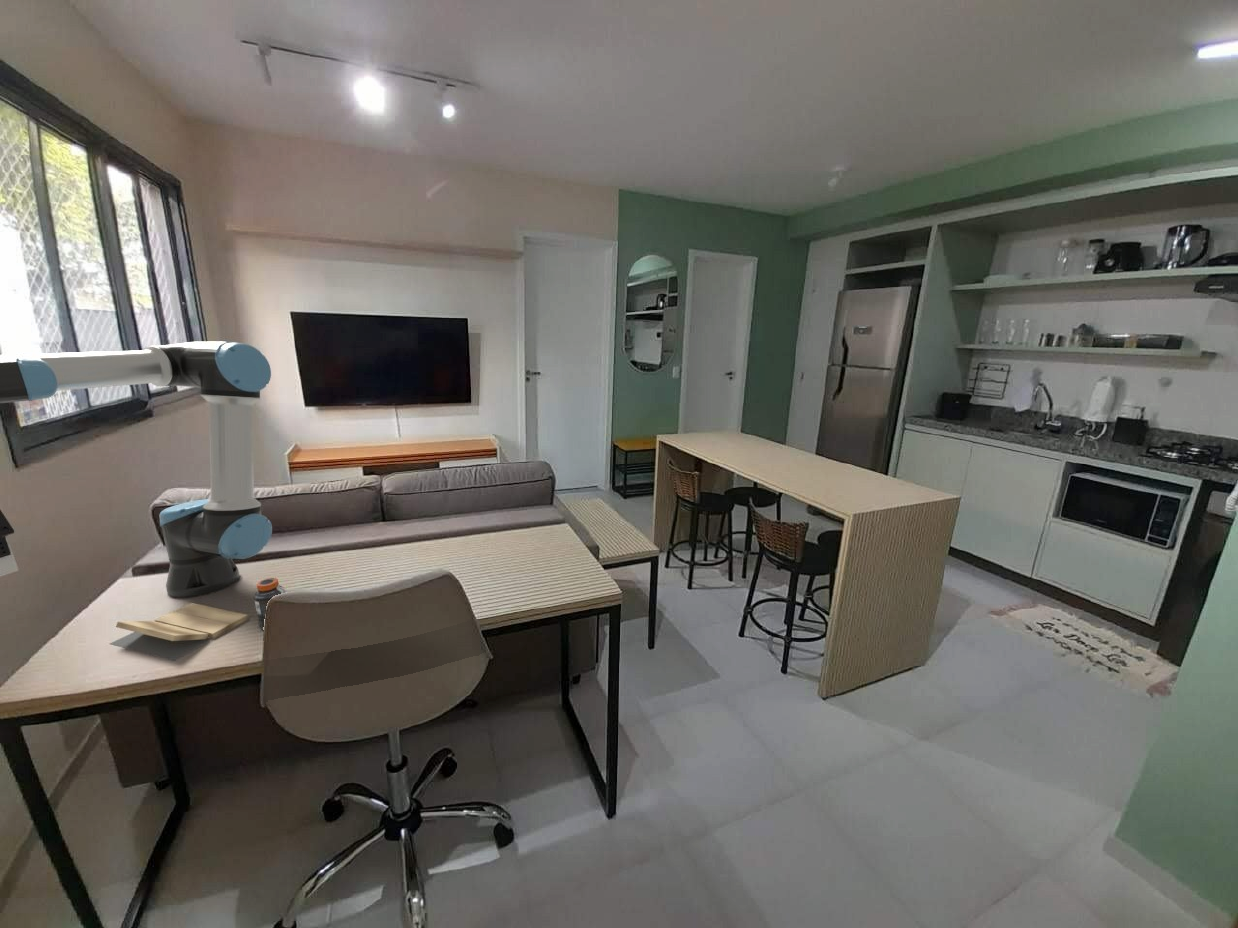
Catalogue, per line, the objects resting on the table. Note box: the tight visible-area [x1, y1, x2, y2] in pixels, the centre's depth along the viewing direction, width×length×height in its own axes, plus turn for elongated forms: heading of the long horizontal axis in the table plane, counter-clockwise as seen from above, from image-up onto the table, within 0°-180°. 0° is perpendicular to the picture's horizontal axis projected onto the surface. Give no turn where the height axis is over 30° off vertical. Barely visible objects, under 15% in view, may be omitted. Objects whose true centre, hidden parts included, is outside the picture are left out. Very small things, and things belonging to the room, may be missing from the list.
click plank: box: [115, 620, 210, 641], centre depth 108 cm, size 8×17×1 cm, turn 74°
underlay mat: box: [109, 615, 254, 661], centre depth 113 cm, size 17×20×1 cm
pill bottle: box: [253, 577, 286, 631], centre depth 114 cm, size 6×6×11 cm
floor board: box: [154, 602, 249, 639], centre depth 115 cm, size 8×18×1 cm, turn 74°
